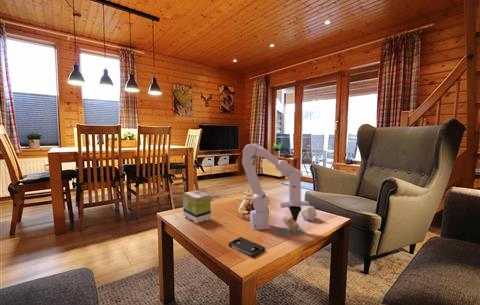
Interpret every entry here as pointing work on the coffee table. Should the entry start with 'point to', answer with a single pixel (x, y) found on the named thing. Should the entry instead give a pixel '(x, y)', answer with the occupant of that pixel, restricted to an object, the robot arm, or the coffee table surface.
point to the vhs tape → (246, 247)
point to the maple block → (290, 223)
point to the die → (309, 213)
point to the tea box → (197, 206)
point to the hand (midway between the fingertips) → (294, 220)
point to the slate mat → (289, 231)
